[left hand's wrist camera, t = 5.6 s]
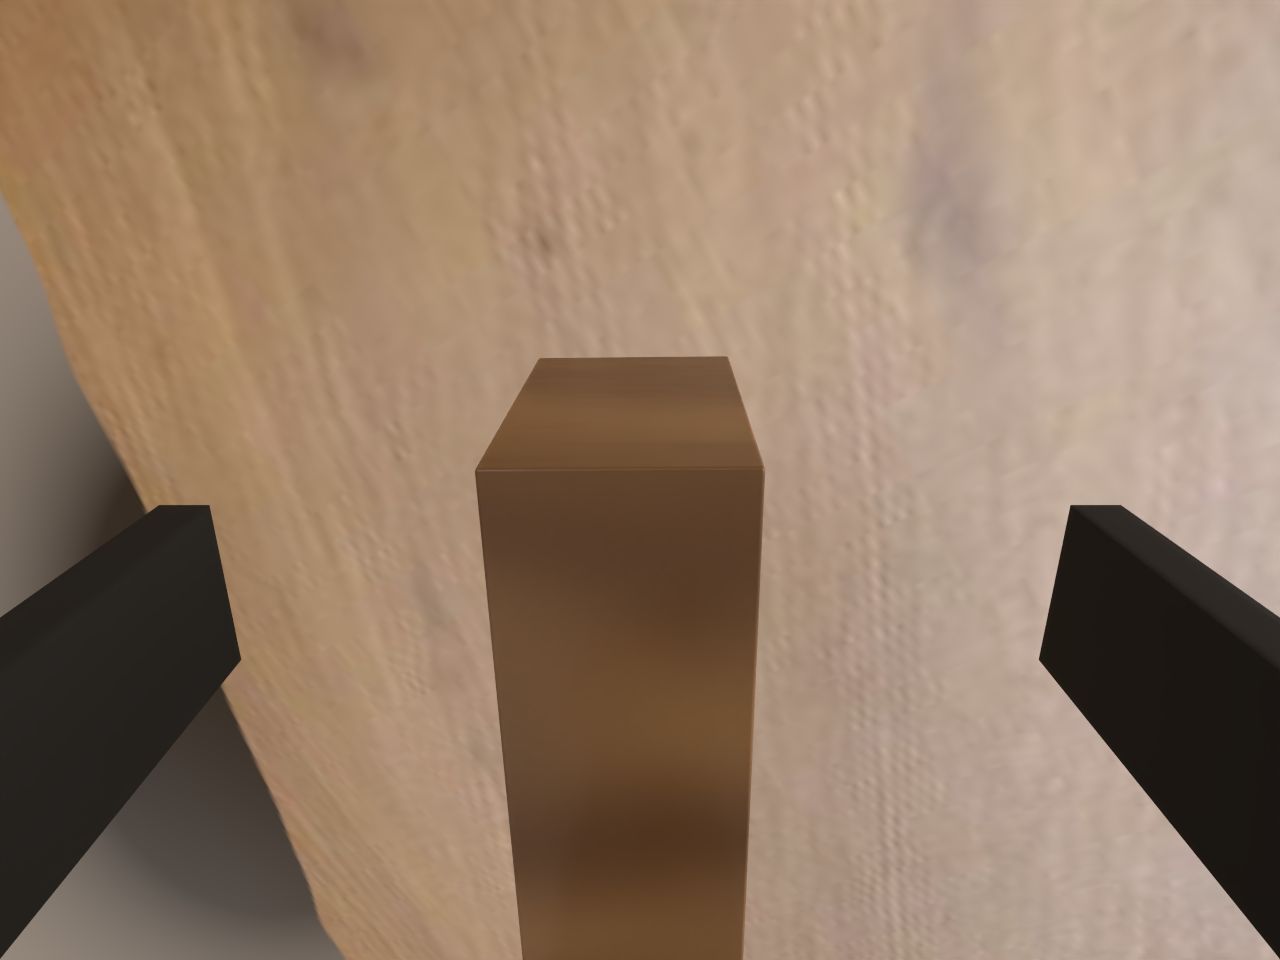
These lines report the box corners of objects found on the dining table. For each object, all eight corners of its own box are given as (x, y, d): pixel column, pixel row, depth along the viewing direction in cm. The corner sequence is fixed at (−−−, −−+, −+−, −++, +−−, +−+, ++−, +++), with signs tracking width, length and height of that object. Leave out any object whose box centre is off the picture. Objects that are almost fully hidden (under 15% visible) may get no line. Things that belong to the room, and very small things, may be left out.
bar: (538, 357, 23) (474, 469, 15) (728, 356, 23) (765, 467, 15) (580, 1021, 34) (555, 1298, 25) (711, 1023, 33) (727, 1301, 25)
